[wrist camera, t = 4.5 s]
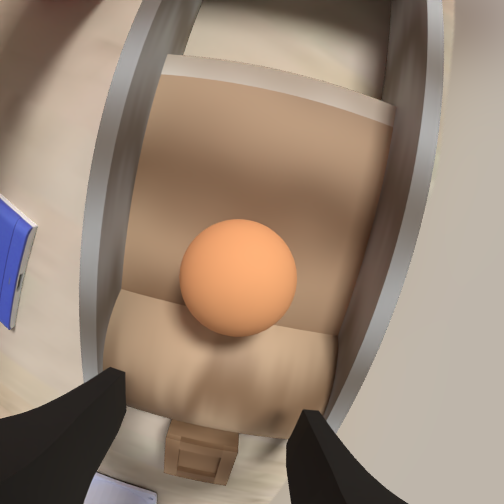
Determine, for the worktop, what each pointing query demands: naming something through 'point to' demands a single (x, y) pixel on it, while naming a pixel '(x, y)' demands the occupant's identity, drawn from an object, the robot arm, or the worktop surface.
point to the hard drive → (13, 257)
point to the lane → (254, 218)
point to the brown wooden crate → (200, 452)
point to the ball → (238, 277)
